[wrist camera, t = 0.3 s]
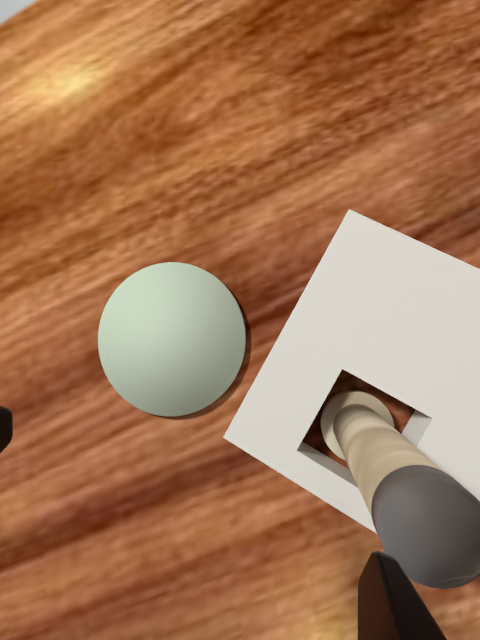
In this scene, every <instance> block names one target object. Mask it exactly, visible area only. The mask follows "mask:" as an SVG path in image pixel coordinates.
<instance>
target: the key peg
mask: <svg viewBox="0 0 480 640" xmlns="http://www.w3.org/2000/svg"><path fill="white" fill-rule="evenodd" d="M320 427H321V431H322V434H323V437H324V440H325V442H326V444H327V445H328V447H329V448H330V449H331V451H332V452H333V453H334V454H336V455H337V456H338V457H340V458H342V459H343V460H346V462H347V464H348V466H349V468H350V471H351V473H352V475H353V477H354V479H355V482H356V484H357V486H358V488H359V491H360V493H361V495H362V497H363V499H364V502H365V504H366V506H367V508H368V510H369V513H370V515H371V517H372V520H373V524H374V527H375V530H376V532H377V534H378V536H379V539H380V541H381V543H382V545H383V548H384V550H385V552H386V554H387V555H390V556H392V557H394V558H395V559H396V560H397V561H398V563H399V564H400V566H401V568H402V569H403V571H404V572H405V574H406V576H407V577H408V578H409V579H411V580H413V581H415V582H417V583H419V584H422V585H424V586H428V587H432V588H438V589H449V588H456V587H460V586H463V585H465V584H468V583H470V582H471V581H473V580H475V579H476V578H477V577H478V576H480V501H479V500H478V499H477V498H476V497H475V496H474V495H473V494H471V493H470V492H469V491H468V490H467V489H466V488H464V487H463V486H462V485H461V484H460V483H459V482H458V481H456V480H455V479H454V478H453V477H452V476H450V475H449V474H447V473H445V472H444V471H443V470H441V469H440V468H439V467H438V466H437V465H436V464H435V463H433V462H432V461H431V460H430V459H429V458H428V457H427V456H425V455H424V454H423V453H422V452H421V451H420V450H419V449H417V448H416V447H415V446H414V445H413V444H412V443H411V442H409V441H408V440H407V439H406V438H405V437H404V436H403V435H401V434H400V433H399V432H398V431H397V430H396V429H395V428H394V422H393V418H392V416H391V414H390V412H389V410H388V409H387V407H386V406H385V405H384V404H383V403H382V402H381V401H379V400H378V399H377V398H375V397H374V396H372V395H371V394H369V393H367V392H364V391H360V390H346V391H342V392H339V393H337V394H336V395H334V396H332V397H331V398H330V399H329V400H328V401H327V402H326V404H325V406H324V407H323V409H322V412H321V417H320Z"/></svg>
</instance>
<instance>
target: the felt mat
mask: <svg viewBox="0 0 480 640" xmlns="http://www.w3.org/2000/svg"><path fill="white" fill-rule="evenodd" d="M245 345H246V330H245V324H244V319H243V316H242V313H241V310H240V308H239V306H238V303H237V301H236V300H235V298H234V297H233V295H232V293H231V292H230V291H229V290H228V289H227V287H226V286H225V285H224V284H223V283H222V282H221V281H219V280H218V279H217V278H216V277H214V276H213V275H212V274H210V273H209V272H207V271H205V270H203V269H201V268H199V267H196V266H193V265H190V264H184V263H175V262H169V263H160V264H155V265H151V266H149V267H146V268H143V269H141V270H139V271H138V272H136V273H134V274H133V275H131V276H130V277H128V278H127V279H126V280H125V281H124V282H123V283H121V284H120V286H119V287H118V288H117V289H116V290H115V291H114V293H113V294H112V296H111V297H110V299H109V300H108V302H107V304H106V306H105V308H104V311H103V314H102V317H101V321H100V325H99V332H98V349H99V356H100V360H101V364H102V367H103V369H104V372H105V374H106V376H107V378H108V380H109V382H110V383H111V385H112V386H113V387H114V389H115V390H116V391H117V392H118V393H119V394H120V395H121V396H122V398H124V399H125V400H126V401H127V402H129V403H130V404H132V405H133V406H135V407H136V408H138V409H140V410H143V411H145V412H147V413H151V414H154V415H160V416H182V415H187V414H190V413H194V412H197V411H199V410H201V409H203V408H205V407H207V406H208V405H210V404H212V403H213V402H214V401H215V400H217V399H218V398H219V397H220V396H221V395H222V394H223V393H224V392H225V391H226V390H227V389H228V388H229V387H230V385H231V384H232V382H233V381H234V379H235V378H236V376H237V374H238V372H239V370H240V367H241V364H242V361H243V357H244V353H245Z"/></svg>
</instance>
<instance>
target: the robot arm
mask: <svg viewBox="0 0 480 640" xmlns="http://www.w3.org/2000/svg"><path fill="white" fill-rule="evenodd" d="M12 436H13V414H12V411H11V410H10V409H8V408H5V407H3V406H0V453H1V452H2V451H3V450H4V449H5V448H6V447H7V446H8V444H9V443H10V441H11V439H12ZM358 640H447V639H446V638H445V636H444V634H443V633H442V631H441V630H440V628H439V626H438V625H437V623H436V622H435V620H434V618H433V617H432V615H431V614H430V612H429V610H428V609H427V607H426V606H425V604H424V603H423V601H422V599H421V598H420V596H419V595H418V593H417V591H416V590H415V588H414V587H413V585H412V583H411V582H410V580H409V579H408V577H407V576H406V574H405V572H404V571H403V569H402V568H401V566H400V564H399V563H398V561H397V560H396V559H395V558H394V557H392V556H390V555H387V554H384V553H382V552H379V551H374V552H372V554H371V555H370V557H369V559H368V561H367V564H366V566H365V568H364V570H363V572H362V574H361V576H360V579H359V585H358Z"/></svg>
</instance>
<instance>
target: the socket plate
mask: <svg viewBox="0 0 480 640" xmlns="http://www.w3.org/2000/svg"><path fill="white" fill-rule="evenodd" d="M342 369H343V370H345V371H347V372H349V373H351V374H352V375H354V376H356V377H358V378H360V379H362V380H363V381H365V382H367V383H369V384H371V385H373V386H374V387H376V388H378V389H380V390H382V391H383V392H385V393H387V394H389V395H391V396H393V397H394V398H396V399H398V400H400V401H402V402H404V403H405V404H407V405H409V406H411V407H413V408H414V409H415V411H414V413H413V414H412V416H411V418H410V420H409V421H408V423H407V425H406V427H405V429H404V430H403V432H402V434H401V435H403V436H404V437H405V438H406V439H407V440H408V441H409V442H411V443H412V444H413V445H414V446H415V447H416V448H417V449H419V450H420V451H421V452H422V453H423V454H424V455H425V456H427V457H428V458H429V459H430V460H431V461H432V462H433V463H435V464H436V465H437V466H438V467H439V468H440V469H441V470H443V471H444V472H445V473H447V474H449V475H450V476H452V477H453V478H454V479H455V480H456V481H458V482H459V483H460V484H461V485H462V486H463V487H464V488H466V489H467V490H468V491H469V492H470V493H471V494H473V495H474V496H475V497H476V498H477V499H478V500H479V501H480V269H478V268H476V267H474V266H471V265H469V264H467V263H465V262H463V261H460V260H458V259H456V258H454V257H452V256H450V255H447V254H445V253H443V252H441V251H439V250H437V249H434V248H432V247H430V246H428V245H426V244H423V243H421V242H419V241H417V240H415V239H413V238H410V237H408V236H406V235H404V234H402V233H400V232H397V231H395V230H393V229H391V228H389V227H386V226H384V225H382V224H380V223H378V222H376V221H373V220H371V219H369V218H367V217H365V216H363V215H360V214H358V213H356V212H354V211H352V210H348V212H347V214H346V216H345V217H344V219H343V221H342V223H341V225H340V227H339V228H338V230H337V232H336V234H335V236H334V237H333V239H332V241H331V243H330V245H329V246H328V248H327V250H326V252H325V254H324V256H323V257H322V259H321V261H320V263H319V265H318V266H317V268H316V270H315V272H314V274H313V276H312V277H311V279H310V281H309V283H308V285H307V286H306V288H305V290H304V292H303V294H302V295H301V297H300V299H299V301H298V303H297V305H296V306H295V308H294V310H293V312H292V314H291V315H290V317H289V319H288V321H287V323H286V324H285V326H284V328H283V330H282V332H281V334H280V335H279V337H278V339H277V341H276V343H275V344H274V346H273V348H272V350H271V352H270V353H269V355H268V357H267V359H266V361H265V363H264V364H263V366H262V368H261V370H260V372H259V373H258V375H257V377H256V379H255V381H254V382H253V384H252V386H251V388H250V390H249V392H248V393H247V395H246V397H245V399H244V401H243V402H242V404H241V406H240V408H239V410H238V412H237V413H236V415H235V417H234V419H233V421H232V422H231V424H230V426H229V428H228V430H227V431H226V433H225V435H224V437H223V438H225V439H226V440H228V441H230V442H231V443H233V444H234V445H236V446H238V447H239V448H241V449H242V450H244V451H246V452H247V453H249V454H250V455H252V456H254V457H255V458H257V459H258V460H260V461H262V462H263V463H265V464H266V465H268V466H270V467H271V468H273V469H274V470H276V471H277V472H279V473H281V474H282V475H284V476H285V477H287V478H289V479H290V480H292V481H293V482H295V483H297V484H298V485H300V486H301V487H303V488H305V489H306V490H308V491H309V492H311V493H313V494H314V495H316V496H317V497H319V498H321V499H322V500H324V501H325V502H327V503H329V504H330V505H332V506H333V507H335V508H337V509H338V510H340V511H341V512H343V513H344V514H346V515H348V516H349V517H351V518H352V519H354V520H356V521H357V522H359V523H360V524H362V525H364V526H365V527H367V528H368V529H370V530H372V531H373V532H375V533H376V534H377V532H376V530H375V527H374V524H373V520H372V517H371V515H370V513H369V510H368V508H367V506H366V504H365V502H364V499H363V497H362V495H361V493H360V491H359V488H358V486H357V484H356V482H355V479H354V477H353V475H352V473H351V471H350V470H349V469H347V468H346V467H344V466H342V465H341V464H339V463H337V462H336V461H334V460H332V459H331V458H329V457H327V456H326V455H324V454H322V453H321V452H319V451H317V450H316V449H314V448H312V447H311V446H309V445H308V444H306V443H304V442H303V441H302V440H303V438H304V436H305V435H306V433H307V431H308V429H309V428H310V426H311V424H312V422H313V420H314V419H315V417H316V415H317V413H318V411H319V410H320V408H321V406H322V404H323V403H324V401H325V399H326V397H327V395H328V394H329V392H330V390H331V388H332V386H333V385H334V383H335V381H336V379H337V378H338V376H339V374H340V372H341V370H342Z"/></svg>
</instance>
